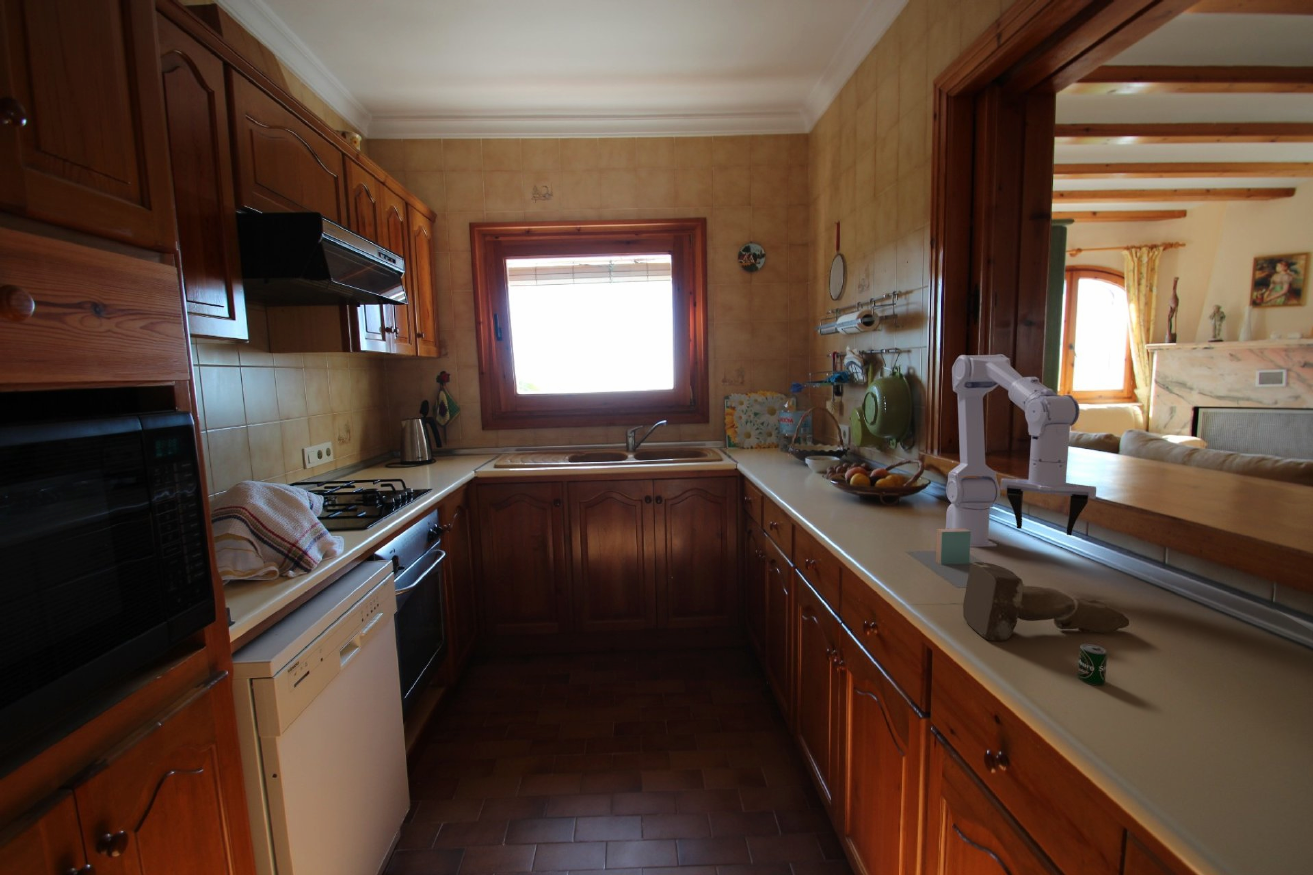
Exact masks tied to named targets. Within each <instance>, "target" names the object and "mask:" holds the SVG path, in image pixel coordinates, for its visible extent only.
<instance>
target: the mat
mask: <svg viewBox="0 0 1313 875" xmlns="http://www.w3.org/2000/svg"><path fill="white" fill-rule="evenodd" d="M905 553H906V554H908V555H909V556H910V557H912V558H913V559H915V560H917V562H919V563H920V564H922V565H923V566H925V567H926V568H928V569H929V570H931V571H932V572H934V573H935V574H936V575H937V576H940V577H941V578H942V579H944V580H945V581H947V582H949V584H951V585H952V586H953V587H955V588H958V589H960V588H961V589H963V588H964V589H966V586H967V580H968V575H969V570H970V566H971V564H972V563H973V562H983V563H985V562H984V561H982V560H981V559H979V558H977V557H975V556H974V555H972V554H970V561H969V564H939V563H938V562H936V550H921V551H920V550H919V551H917V550H916V551H915V550H914V551H911V550H910V551H905ZM1023 586H1026V585H1025V584H1024V583H1023Z"/></svg>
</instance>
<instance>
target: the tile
mask: <svg viewBox="0 0 1313 875" xmlns="http://www.w3.org/2000/svg"><path fill="white" fill-rule="evenodd" d="M970 539H971V531H969V530H967V529H946V528H937V529H936V548H935V549H936V550H935V551H936V562H938V563H939V564H969V561H970V555H971V547H970Z"/></svg>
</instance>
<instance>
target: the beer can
mask: <svg viewBox="0 0 1313 875" xmlns="http://www.w3.org/2000/svg"><path fill="white" fill-rule="evenodd" d="M1079 647H1080V648H1079V650H1078V651H1079V652H1078V663H1077V664H1078V665H1077V677H1078V678H1079V679H1080V680H1081V681H1082V682H1083V683H1086V684H1089V685H1093V686H1102V685H1105V683H1106V675H1107V665H1108V664H1107V660H1108V655H1107V650H1106V649H1105V648H1104V647H1102V646H1100V645H1096V644H1091V643H1082V644H1081V645H1080V646H1079Z"/></svg>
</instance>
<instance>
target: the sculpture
mask: <svg viewBox="0 0 1313 875" xmlns="http://www.w3.org/2000/svg"><path fill="white" fill-rule="evenodd" d="M983 562H984V561H983ZM983 562H973V563H972V564H971V566H970V570H969V575H968V580H967V586H966V588H965V593H964V597H963V603H962V611H963V612H962V615H963V619H964V621H966V623H967V624H968V625H969V627H971V628H972V629H973V630H974V631H975V632H976V633H978V634H979V635H980V636H981V637H982V638H983V639H985V640H987V641H996V642H1004V641H1008V639H1009V638H1010V637H1011V636H1012V634H1013V632H1014V629H1015V628H1016V626H1017V624H1018V619H1019V620H1022V621H1027V622H1037V621H1047V620H1048V621H1049V620H1050V621H1051V620H1053V624H1054V625H1055V627H1056V628H1057V629H1060V630H1076V629H1078V632H1079V631H1080V632H1081V633H1087V632H1088V633H1089V632H1094V633H1101V634H1105V633H1109V632H1116V631H1117V630H1119V629H1125V628H1127V627H1129V625H1130V620H1129V618H1128V617H1126V616H1125V615H1124V614H1123V613H1122V612H1121V611H1119V610H1117V609H1115V608H1113V607H1111V606H1109V605H1108V604H1107V603H1105V602H1103V601H1099V600H1097V599H1093V598H1082V597H1078V598H1077V597H1072V596H1069V595H1068V594H1065V593H1064V592H1061V591H1060V590H1057V589H1055V588H1050V587H1042V586H1037V585H1025V586H1023V584H1024V583H1023V579H1022V578H1020V577H1019V576H1018V575H1017V574H1016V573H1014V571H1012V570H1010V569H1007V568H1006V567H1004V566H1001V565H998V564H995V563H990V562H989V563H988V562H984V563H983Z"/></svg>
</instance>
